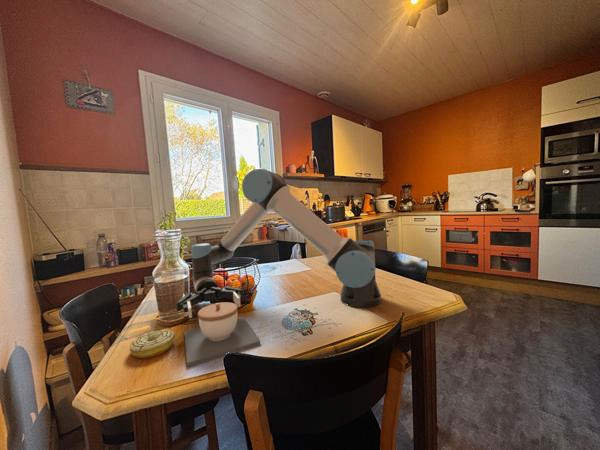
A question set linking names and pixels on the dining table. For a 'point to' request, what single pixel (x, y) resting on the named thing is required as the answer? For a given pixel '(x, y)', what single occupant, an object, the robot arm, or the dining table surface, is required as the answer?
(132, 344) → the decorated donut
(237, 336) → the mat
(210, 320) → the lidded jar
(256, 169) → the robot arm
